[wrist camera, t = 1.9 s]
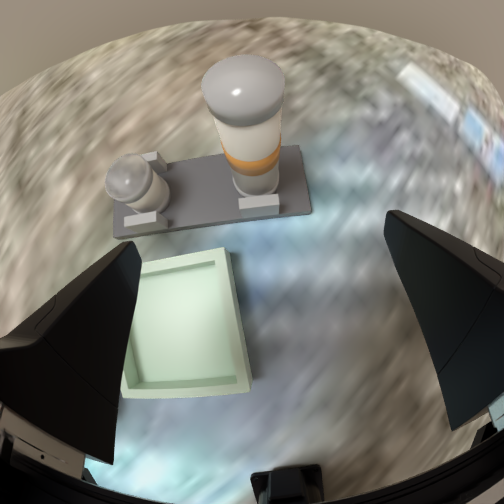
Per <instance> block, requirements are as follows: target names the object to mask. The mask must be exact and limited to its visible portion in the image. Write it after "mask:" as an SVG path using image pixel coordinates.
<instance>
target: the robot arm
mask: <svg viewBox="0 0 504 504" xmlns="http://www.w3.org/2000/svg"><path fill="white" fill-rule="evenodd" d="M384 237H385V240H386V243H387V245H388V248H389V251H390V253H391V256H392V259H393V262H394V265H395V267H396V270H397V272H398V275H399V277H400V279H401V281H402V284H403V286H404V288H405V290H406V293H407V295H408V297H409V300H410V302H411V304H412V307H413V309H414V312H415V314H416V317H417V319H418V322H419V324H420V327H421V329H422V332H423V335H424V338H425V340H426V343H427V346H428V349H429V352H430V355H431V358H432V361H433V364H434V367H435V370H436V373H437V377H438V380H439V384H440V387H441V391H442V394H443V398H444V402H445V406H446V410H447V414H448V418H449V423H450V427H451V430H452V431H455V430H457V429H459V428H461V427H462V426H464V425H466V424H468V423H470V422H472V421H474V420H475V419H477V418H479V417H481V416H482V415H484V414H486V413H488V412H489V415H490V418H491V422H489V423H487V424H486V425H484V426H483V427H481V428H480V429H478V430H477V433H476V436H475V438H474V441H473V443H472V446H471V448H470V450H468V451H466V452H464V453H463V454H461V455H459V456H457V457H455V458H453V459H451V460H449V461H447V462H445V463H443V464H441V465H439V466H437V467H435V468H432V469H430V470H428V471H426V472H423V473H421V474H418V475H416V476H413V477H411V478H408V479H406V480H403V481H400V482H397V483H394V484H392V485H389V486H385V487H382V488H379V489H376V490H372V491H369V492H365V493H361V494H358V495H353V496H349V497H345V498H340V499H335V500H330V501H325V502H324V493H323V483H322V473H321V467H320V466H319V465H311V466H306V467H300V468H294V469H288V470H281V471H273V472H265V473H255V474H252V475H251V478H250V480H251V484H252V487H253V491H254V494H255V498H256V501H257V504H504V263H503V262H501V261H499V260H498V259H496V258H494V257H492V256H490V255H488V254H486V253H485V252H483V251H481V250H479V249H477V248H475V247H473V246H472V245H470V244H468V243H466V242H464V241H462V240H460V239H458V238H456V237H455V236H453V235H451V234H449V233H447V232H445V231H443V230H441V229H439V228H436V227H434V226H432V225H430V224H428V223H426V222H424V221H422V220H420V219H417V218H415V217H413V216H411V215H409V214H406V213H404V212H402V211H399V210H389V211H388V212H387V214H386V219H385V226H384ZM141 268H142V260H141V257H140V255H139V253H138V250H137V248H136V245H135V243H134V242H133V241H126V242H122V243H121V244H119V245H118V246H116V247H115V248H114V249H112V250H111V251H110V252H108V253H107V254H106V255H104V256H103V257H102V258H100V259H99V260H98V261H96V262H95V263H94V264H93V265H91V266H90V267H89V268H87V269H86V270H85V271H84V272H82V273H81V274H80V275H79V276H77V277H76V278H75V279H74V280H72V281H71V282H70V283H69V284H67V285H66V286H65V287H64V288H63V289H61V290H60V291H59V292H58V293H57V295H54V296H53V297H52V298H51V299H50V300H48V301H47V302H46V303H45V304H44V305H42V306H41V307H40V308H39V309H38V310H36V311H35V312H34V313H33V314H32V315H30V316H29V317H28V318H27V319H25V320H24V321H23V322H22V323H21V324H19V325H18V326H17V327H16V328H15V329H13V330H12V331H11V332H10V333H9V334H7V335H6V336H4V337H2V338H0V504H173V503H167V502H161V501H155V500H150V499H145V498H141V497H137V496H132V495H128V494H125V493H121V492H117V491H114V490H110V489H107V488H104V487H101V486H98V485H97V483H96V482H95V480H94V478H93V477H92V475H91V474H90V472H89V470H88V469H87V468H85V467H84V465H85V459H86V458H89V459H92V460H95V461H99V462H102V463H106V464H110V465H113V462H114V447H115V434H116V423H117V413H118V409H117V408H118V403H119V396H120V388H121V381H122V375H123V368H124V362H125V357H126V351H127V346H128V340H129V335H130V330H131V325H132V321H133V316H134V312H135V307H136V302H137V297H138V290H139V282H140V275H141ZM314 469H317V470H314ZM255 478H257V479H255Z"/></svg>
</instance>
